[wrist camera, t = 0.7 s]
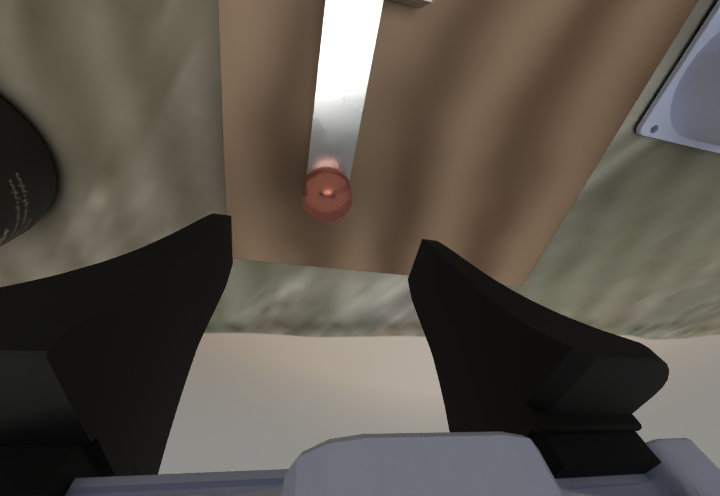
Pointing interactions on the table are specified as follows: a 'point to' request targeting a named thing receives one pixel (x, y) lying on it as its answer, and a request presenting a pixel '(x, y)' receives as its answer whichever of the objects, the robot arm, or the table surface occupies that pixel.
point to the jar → (22, 175)
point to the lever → (340, 102)
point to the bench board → (433, 125)
